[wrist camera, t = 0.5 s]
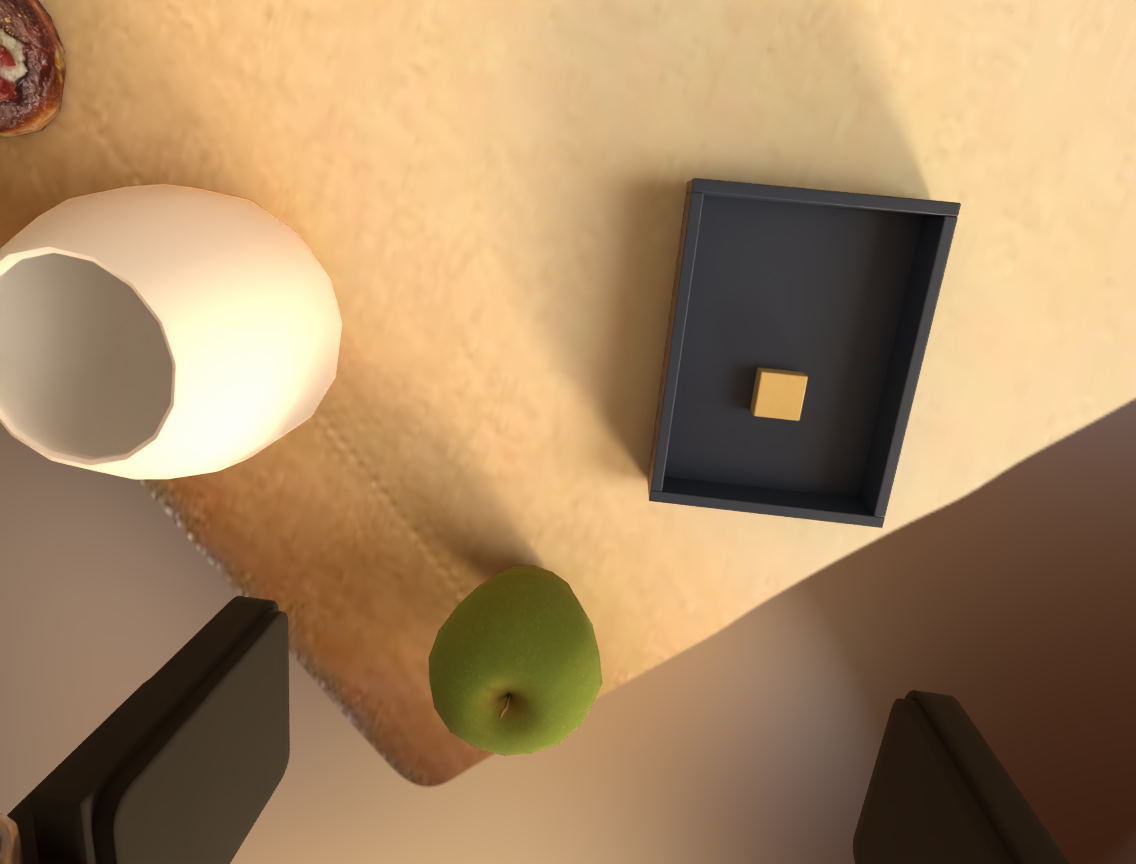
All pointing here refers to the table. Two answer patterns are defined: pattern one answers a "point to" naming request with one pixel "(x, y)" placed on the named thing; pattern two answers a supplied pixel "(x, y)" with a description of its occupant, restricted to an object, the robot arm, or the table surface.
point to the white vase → (161, 331)
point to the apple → (516, 663)
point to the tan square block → (778, 393)
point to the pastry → (29, 68)
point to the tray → (795, 347)
